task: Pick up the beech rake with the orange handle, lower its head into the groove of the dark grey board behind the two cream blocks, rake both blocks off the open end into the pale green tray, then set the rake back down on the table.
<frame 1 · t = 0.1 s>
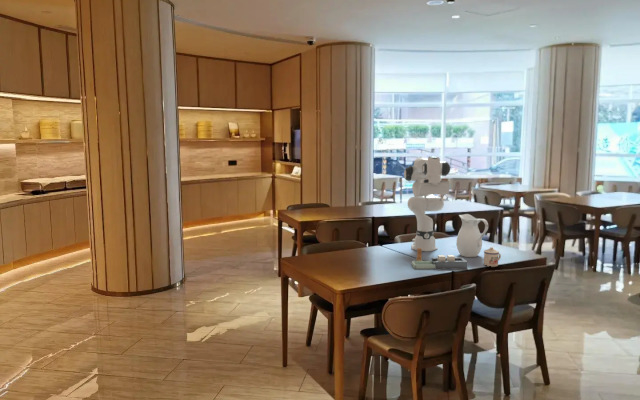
hand: (433, 201, 338), 39 cm above the table, tool pointing down, fingers open, 8 cm apart
cream block 2: (450, 261, 320), point 3 cm above the table, touching grooved board
tray: (423, 266, 320), on the table
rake: (419, 262, 330), on the table
cream block 1: (441, 262, 320), point 3 cm above the table, touching grooved board
teacup with lid: (492, 265, 324), on the table
pitcher: (472, 256, 345), on the table
grooved board: (449, 266, 320), on the table
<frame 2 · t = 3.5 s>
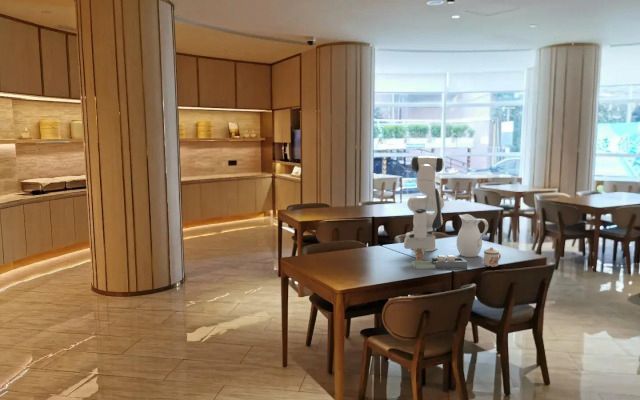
hand: (419, 255, 329), 5 cm above the table, tool pointing down, fingers closed on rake, 2 cm apart
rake: (419, 262, 330), on the table, touching gripper
everything else where it was.
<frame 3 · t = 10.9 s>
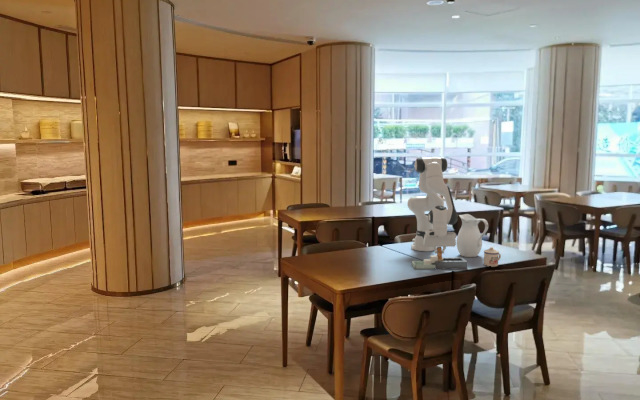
hand: (439, 253, 319), 9 cm above the table, tool pointing down, fingers closed on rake, 3 cm apart
cream block 2: (433, 262, 319), point 3 cm above the table, touching grooved board
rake: (440, 261, 319), point 3 cm above the table, tilted 5°, touching gripper, grooved board
cream block 1: (430, 262, 320), point 2 cm above the table, tilted 90°, touching tray
everything else where it was.
when the fingers open (7 cm above the table, at t = 17.2 s): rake stays where it is, on the table.
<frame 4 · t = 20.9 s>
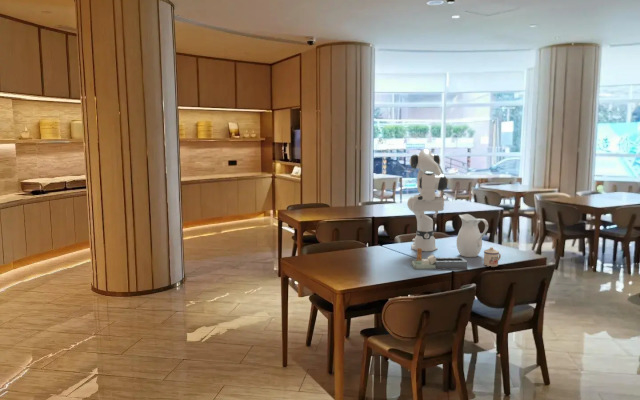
hand: (427, 217, 331), 29 cm above the table, tool pointing down, fingers open, 8 cm apart
cream block 2: (433, 262, 319), point 3 cm above the table, tilted 28°, touching cream block 1, grooved board
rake: (419, 262, 330), on the table
cream block 1: (428, 262, 320), point 2 cm above the table, tilted 90°, touching cream block 2, tray
everything else where it was.
at the end: cream block 1 inside the target area on the tray (3.4 cm from its centre), point 2.5 cm above the tray's base; cream block 2 inside the target area on the tray (6.5 cm from its centre), point 3.0 cm above the tray's base; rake touching table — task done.
